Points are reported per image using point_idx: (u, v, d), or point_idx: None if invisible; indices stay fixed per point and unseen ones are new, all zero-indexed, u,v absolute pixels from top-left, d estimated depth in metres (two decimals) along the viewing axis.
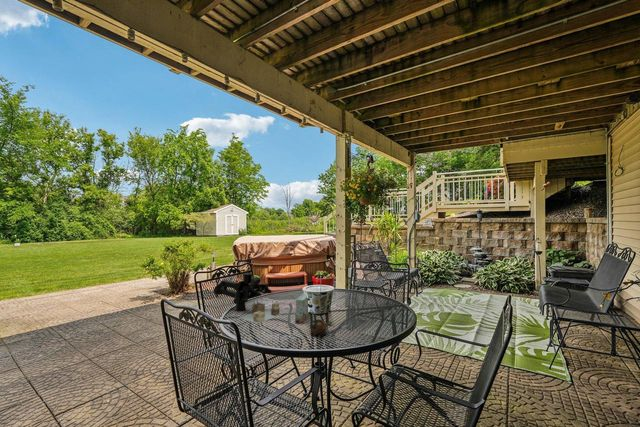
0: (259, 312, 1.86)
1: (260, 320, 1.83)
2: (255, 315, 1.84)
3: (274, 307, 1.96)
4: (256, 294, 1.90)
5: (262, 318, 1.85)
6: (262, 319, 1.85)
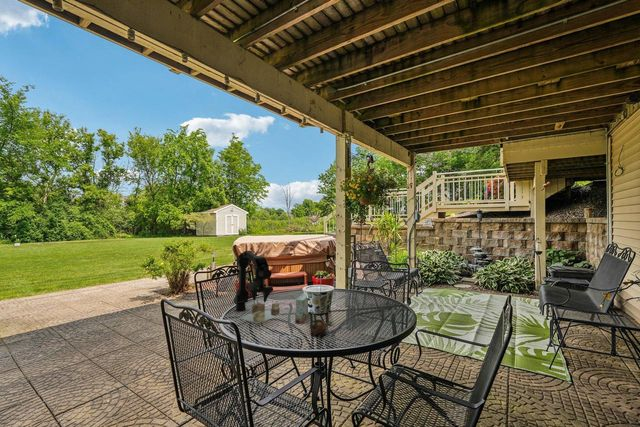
0: (259, 312, 1.86)
1: (260, 320, 1.83)
2: (255, 315, 1.84)
3: (274, 307, 1.96)
4: None
5: (262, 318, 1.85)
6: (262, 319, 1.85)
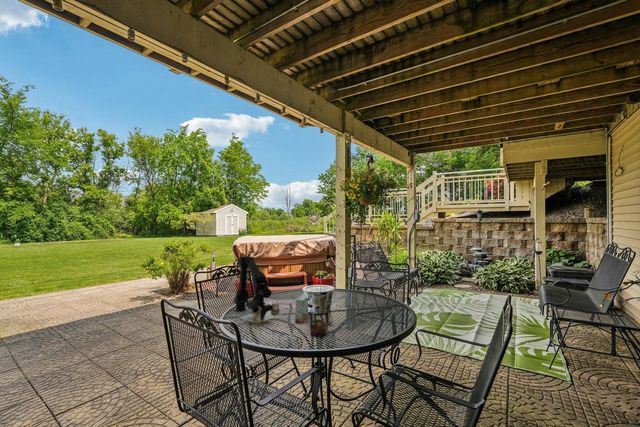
0: (259, 312, 1.86)
1: (260, 320, 1.83)
2: (255, 315, 1.84)
3: (274, 307, 1.96)
4: None
5: None
6: None
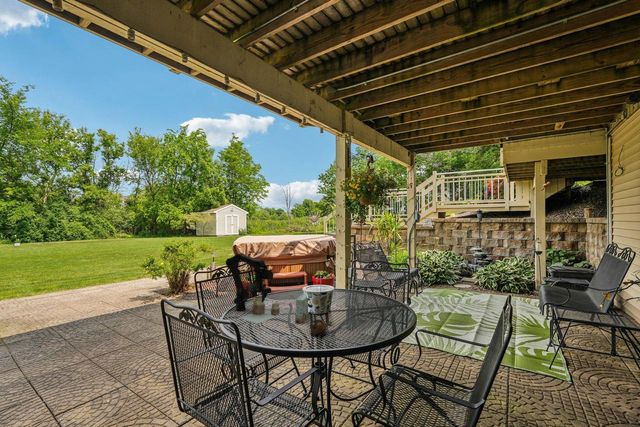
0: (258, 297, 2.01)
1: (259, 304, 1.98)
2: (255, 299, 1.98)
3: (274, 307, 1.96)
4: None
5: (261, 302, 1.99)
6: (261, 303, 1.99)
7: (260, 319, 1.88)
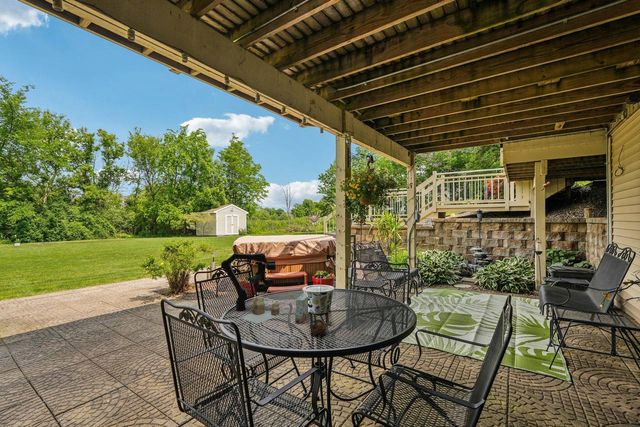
0: (258, 297, 2.01)
1: (259, 304, 1.98)
2: (255, 299, 1.98)
3: (274, 307, 1.96)
4: None
5: (261, 302, 1.99)
6: (261, 303, 1.99)
7: (260, 319, 1.88)
